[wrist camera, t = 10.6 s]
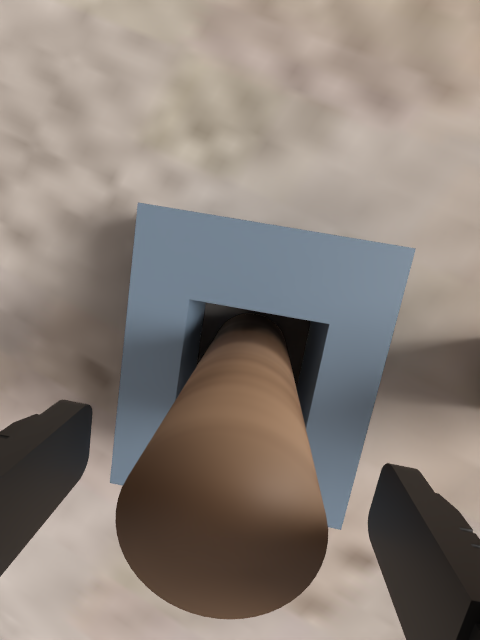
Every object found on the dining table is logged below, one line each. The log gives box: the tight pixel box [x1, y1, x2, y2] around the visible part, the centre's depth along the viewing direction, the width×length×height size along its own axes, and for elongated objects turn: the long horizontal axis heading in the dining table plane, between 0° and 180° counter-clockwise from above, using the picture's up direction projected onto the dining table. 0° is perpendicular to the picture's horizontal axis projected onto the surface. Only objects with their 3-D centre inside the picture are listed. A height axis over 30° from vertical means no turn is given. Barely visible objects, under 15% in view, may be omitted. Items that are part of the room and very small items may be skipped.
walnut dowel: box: [116, 313, 328, 619], centre depth 14 cm, size 4×4×14 cm
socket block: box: [110, 203, 415, 530], centre depth 18 cm, size 14×12×5 cm
